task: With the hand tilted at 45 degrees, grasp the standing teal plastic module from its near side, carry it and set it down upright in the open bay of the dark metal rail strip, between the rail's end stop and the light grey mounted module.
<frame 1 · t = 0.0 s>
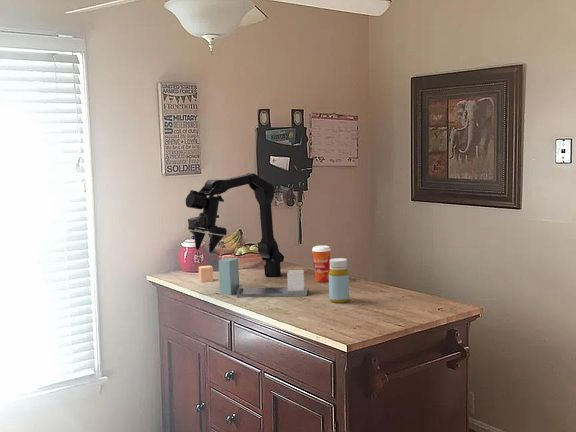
hand: (203, 250, 270), 15 cm above the counter, tool pointing down, fingers open, 9 cm apart
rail: (272, 293, 261), on the counter
bottle: (339, 301, 246), on the counter
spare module: (206, 281, 288), on the counter
module: (229, 292, 265), on the counter
paper cup: (322, 281, 280), on the counter
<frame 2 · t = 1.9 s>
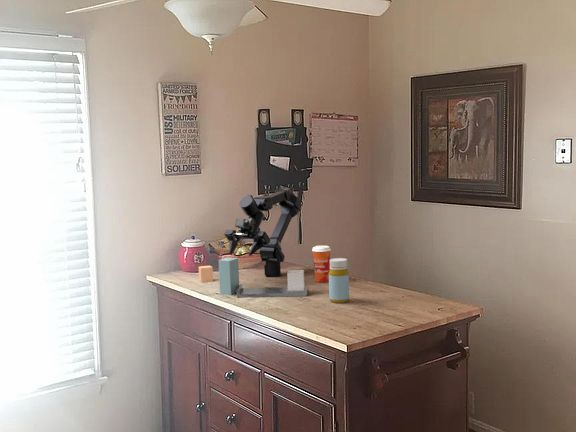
hand: (239, 254, 271), 13 cm above the counter, tool tilted 45°, fingers open, 9 cm apart
nothing on the counter moved.
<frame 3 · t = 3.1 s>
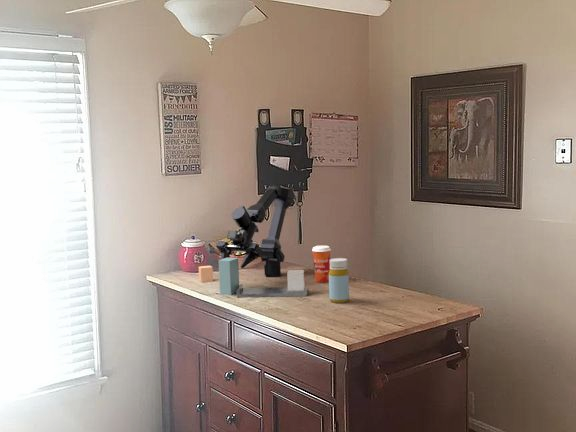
hand: (231, 267, 266), 10 cm above the counter, tool tilted 45°, fingers open, 9 cm apart
nothing on the counter moved.
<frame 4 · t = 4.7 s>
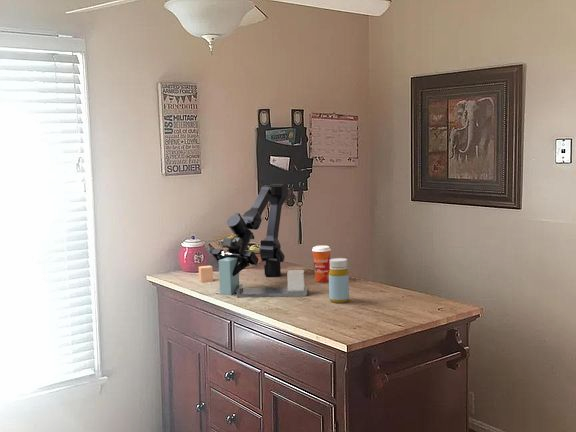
hand: (226, 275, 263), 7 cm above the counter, tool tilted 45°, fingers closed on module, 5 cm apart
module: (229, 292, 265), on the counter, touching gripper
everything else where it was.
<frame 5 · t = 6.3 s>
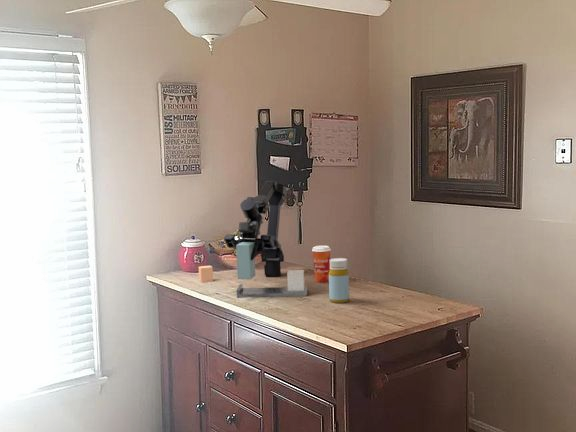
hand: (244, 259, 260), 13 cm above the counter, tool tilted 45°, fingers closed on module, 5 cm apart
module: (246, 277, 262), point 6 cm above the counter, touching gripper
everything else where it was.
when the fingers open (9 cm above the counter, at t = 8.1 s): module stays where it is, resting on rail.
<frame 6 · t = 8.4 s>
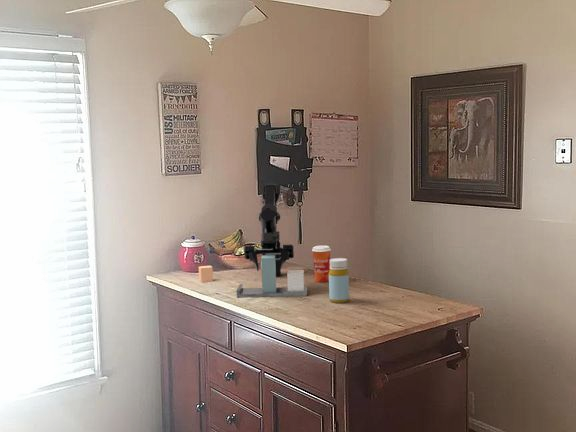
hand: (268, 270, 259), 9 cm above the counter, tool tilted 45°, fingers open, 8 cm apart
module: (269, 290, 261), point 1 cm above the counter, touching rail
everything else where it was.
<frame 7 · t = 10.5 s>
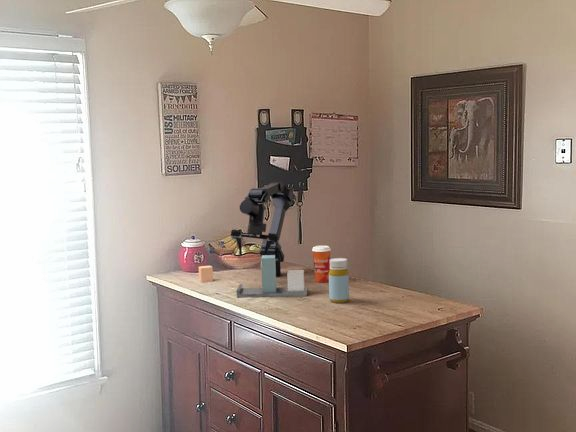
hand: (252, 257, 275), 11 cm above the counter, tool tilted 20°, fingers open, 9 cm apart
nothing on the counter moved.
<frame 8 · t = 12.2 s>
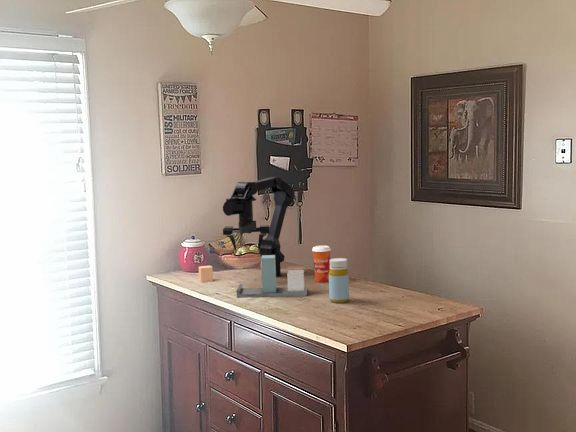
hand: (247, 251, 280), 13 cm above the counter, tool pointing down, fingers open, 9 cm apart
nothing on the counter moved.
at the end: module inside the target area (0.1 cm from its centre), point 1.2 cm above the counter; module tilted 0°; the gripper is holding nothing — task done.
